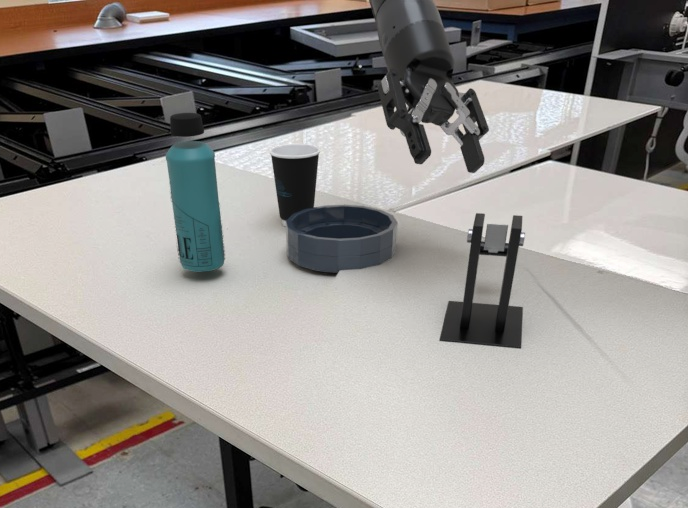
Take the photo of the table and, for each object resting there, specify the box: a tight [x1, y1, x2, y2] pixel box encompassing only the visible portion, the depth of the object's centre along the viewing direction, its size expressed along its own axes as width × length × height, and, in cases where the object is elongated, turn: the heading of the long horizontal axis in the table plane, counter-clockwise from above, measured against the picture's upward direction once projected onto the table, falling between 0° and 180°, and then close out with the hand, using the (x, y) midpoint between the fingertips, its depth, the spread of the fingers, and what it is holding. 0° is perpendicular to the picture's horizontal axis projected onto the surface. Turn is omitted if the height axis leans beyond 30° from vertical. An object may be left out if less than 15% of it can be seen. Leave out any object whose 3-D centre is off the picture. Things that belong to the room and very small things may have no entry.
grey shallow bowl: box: [285, 204, 398, 274], centre depth 103 cm, size 16×16×5 cm
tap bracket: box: [439, 212, 526, 349], centre depth 81 cm, size 11×9×13 cm
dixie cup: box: [268, 143, 322, 228], centre depth 113 cm, size 8×8×11 cm
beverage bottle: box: [165, 112, 226, 273], centre depth 94 cm, size 6×7×20 cm
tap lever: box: [479, 223, 509, 258], centre depth 83 cm, size 13×5×2 cm, turn 166°
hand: (451, 164), depth 83 cm, fingers open, 8 cm apart
